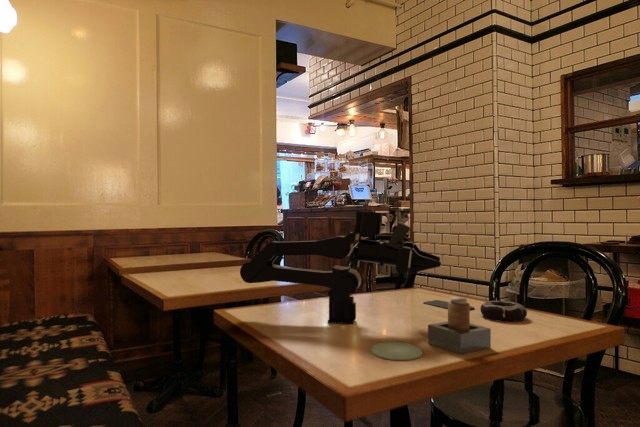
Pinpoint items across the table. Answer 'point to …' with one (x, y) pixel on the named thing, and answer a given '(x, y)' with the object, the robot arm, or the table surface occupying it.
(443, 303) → the smartphone
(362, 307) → the table surface
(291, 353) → the table surface
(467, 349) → the box
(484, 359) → the table surface
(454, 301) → the pepper mill
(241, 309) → the table surface
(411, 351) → the coaster
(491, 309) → the donut
